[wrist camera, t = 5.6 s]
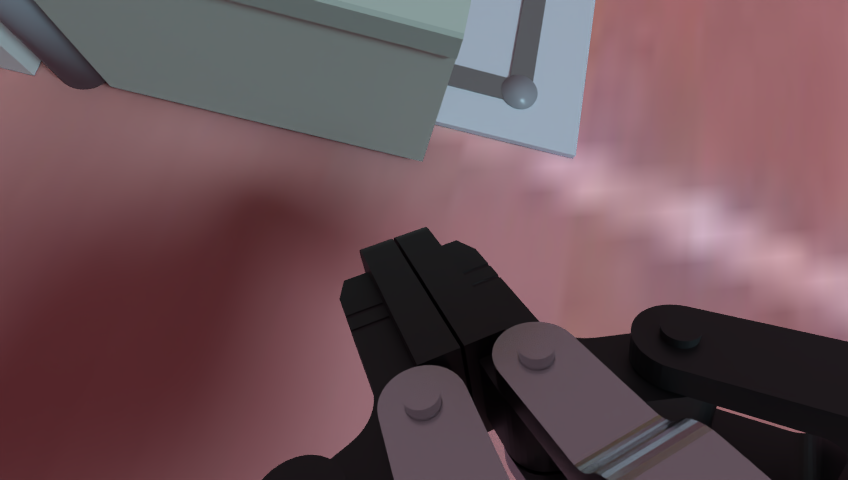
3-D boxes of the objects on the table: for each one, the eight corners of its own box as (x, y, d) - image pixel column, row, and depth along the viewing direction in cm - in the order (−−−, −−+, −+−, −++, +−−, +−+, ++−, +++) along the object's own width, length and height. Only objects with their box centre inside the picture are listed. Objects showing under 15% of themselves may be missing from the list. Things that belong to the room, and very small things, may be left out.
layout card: (572, 158, 19) (576, 154, 18) (309, 93, 18) (309, 88, 17) (599, -51, 21) (603, -58, 21) (371, -116, 20) (371, -124, 20)
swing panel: (108, 90, 16) (-64, -99, 10) (128, 42, 17) (-21, -170, 10) (421, 165, 17) (463, 39, 10) (432, 117, 18) (477, -33, 11)
